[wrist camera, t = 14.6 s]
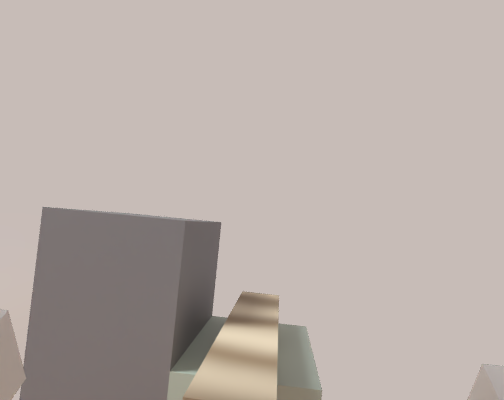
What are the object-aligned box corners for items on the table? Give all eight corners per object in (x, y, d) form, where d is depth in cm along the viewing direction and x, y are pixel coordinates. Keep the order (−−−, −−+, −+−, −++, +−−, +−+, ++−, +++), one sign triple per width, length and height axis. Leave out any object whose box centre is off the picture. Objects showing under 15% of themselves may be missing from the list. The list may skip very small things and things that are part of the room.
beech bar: (269, 491, 13) (276, 409, 14) (174, 477, 14) (182, 397, 14) (276, 326, 35) (278, 295, 35) (239, 322, 36) (242, 291, 36)
